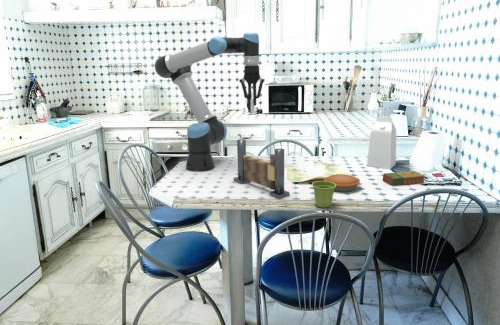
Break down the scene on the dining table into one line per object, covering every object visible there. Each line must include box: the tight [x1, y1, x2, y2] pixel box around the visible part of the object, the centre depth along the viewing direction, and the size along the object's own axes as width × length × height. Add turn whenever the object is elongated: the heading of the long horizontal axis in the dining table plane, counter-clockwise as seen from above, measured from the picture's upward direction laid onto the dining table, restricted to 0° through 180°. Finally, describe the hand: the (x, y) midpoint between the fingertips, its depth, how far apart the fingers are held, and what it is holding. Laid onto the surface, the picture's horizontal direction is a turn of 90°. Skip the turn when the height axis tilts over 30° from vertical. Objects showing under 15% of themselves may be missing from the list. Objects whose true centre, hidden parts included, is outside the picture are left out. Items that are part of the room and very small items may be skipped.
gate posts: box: [233, 138, 290, 200], centre depth 181 cm, size 32×6×20 cm, turn 38°
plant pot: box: [311, 180, 336, 209], centre depth 161 cm, size 9×9×9 cm
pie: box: [323, 173, 361, 193], centre depth 182 cm, size 16×16×5 cm
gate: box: [243, 153, 275, 191], centre depth 181 cm, size 21×3×15 cm, turn 38°
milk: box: [366, 115, 397, 170], centre depth 213 cm, size 12×12×26 cm
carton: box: [382, 170, 425, 187], centre depth 188 cm, size 8×16×4 cm, turn 102°
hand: (252, 111), depth 211 cm, fingers closed
